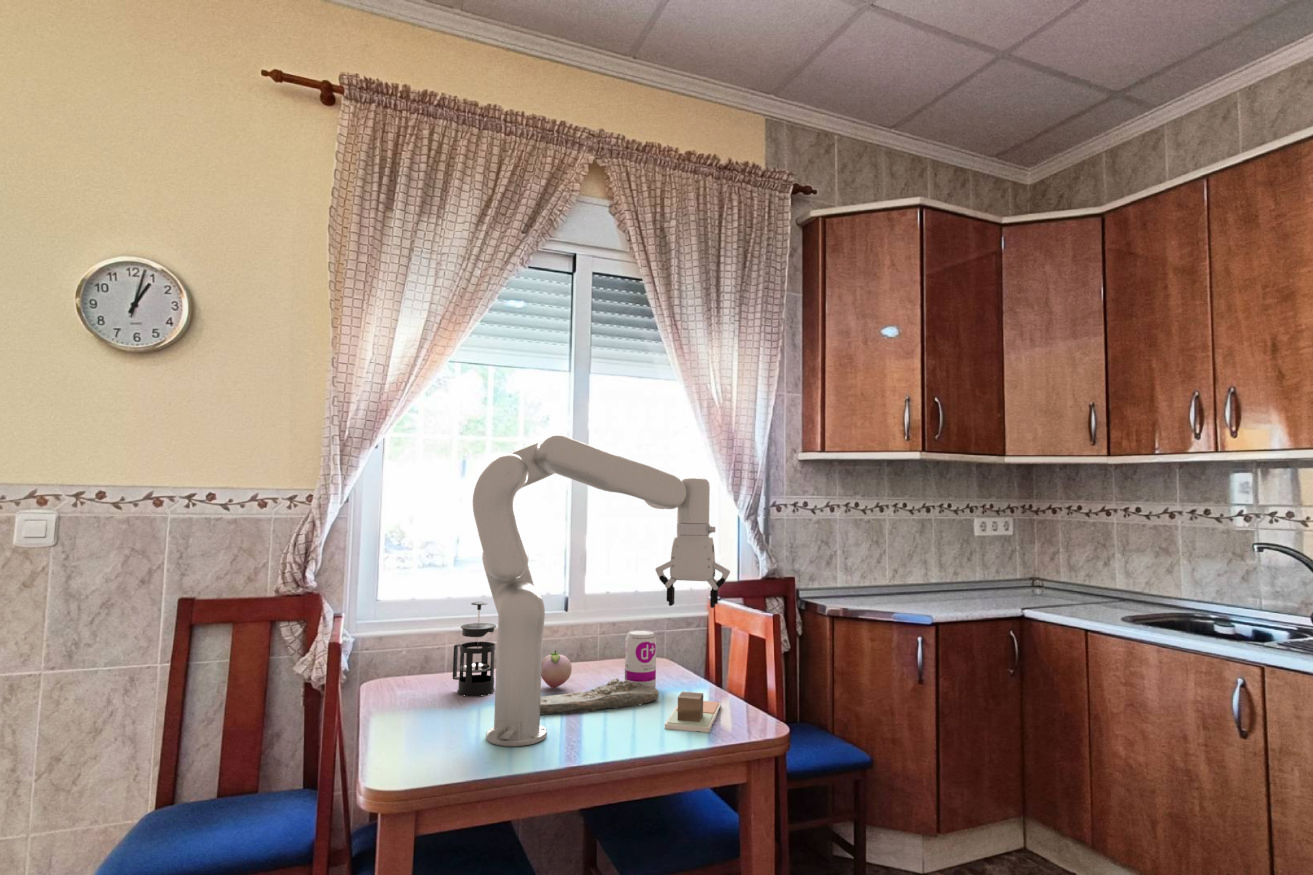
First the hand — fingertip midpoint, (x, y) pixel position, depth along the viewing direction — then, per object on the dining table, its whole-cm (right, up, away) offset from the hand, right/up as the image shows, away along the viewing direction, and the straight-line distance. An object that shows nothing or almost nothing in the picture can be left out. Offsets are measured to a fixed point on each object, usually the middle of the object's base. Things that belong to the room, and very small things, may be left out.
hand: (692, 605), depth 164 cm
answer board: (+1, -27, +3) cm, 27 cm away
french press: (-56, -28, +21) cm, 66 cm away
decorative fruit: (-35, -28, +26) cm, 52 cm away
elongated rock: (-24, -28, +10) cm, 38 cm away
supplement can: (-13, -29, +26) cm, 41 cm away
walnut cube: (0, -25, -2) cm, 25 cm away
